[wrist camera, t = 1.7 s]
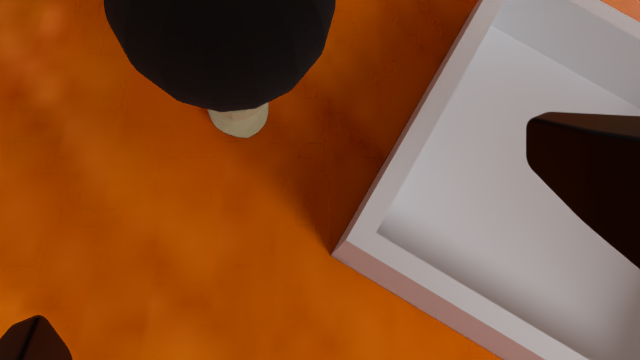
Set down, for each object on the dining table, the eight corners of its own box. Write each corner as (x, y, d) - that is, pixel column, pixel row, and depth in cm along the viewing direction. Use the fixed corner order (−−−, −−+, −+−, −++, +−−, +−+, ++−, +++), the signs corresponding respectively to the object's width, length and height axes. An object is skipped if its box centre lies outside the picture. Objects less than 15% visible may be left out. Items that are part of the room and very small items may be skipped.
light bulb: (176, 44, 24) (91, -208, 12) (314, 58, 25) (355, -172, 13) (157, 177, 22) (37, 25, 11) (306, 188, 23) (346, 55, 11)
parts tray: (726, 155, 25) (820, 121, 21) (631, 436, 21) (725, 466, 17) (471, 11, 26) (510, -49, 22) (330, 255, 22) (345, 239, 18)
